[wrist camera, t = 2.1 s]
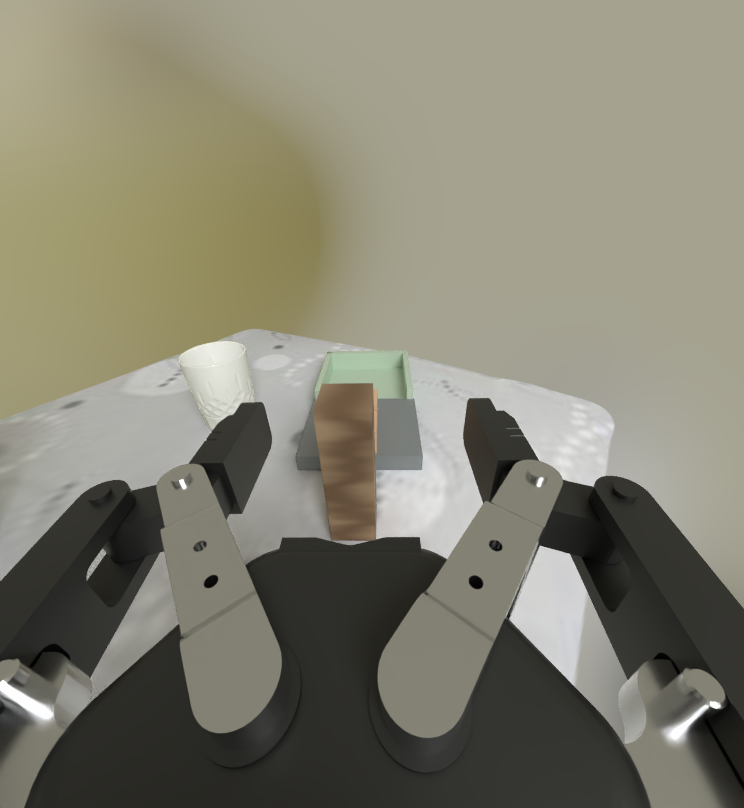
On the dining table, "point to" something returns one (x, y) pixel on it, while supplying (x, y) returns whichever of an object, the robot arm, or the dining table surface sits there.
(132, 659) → the dining table surface
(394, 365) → the tray
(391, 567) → the robot arm
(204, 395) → the white cup
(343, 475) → the tall wooden post
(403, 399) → the plate
